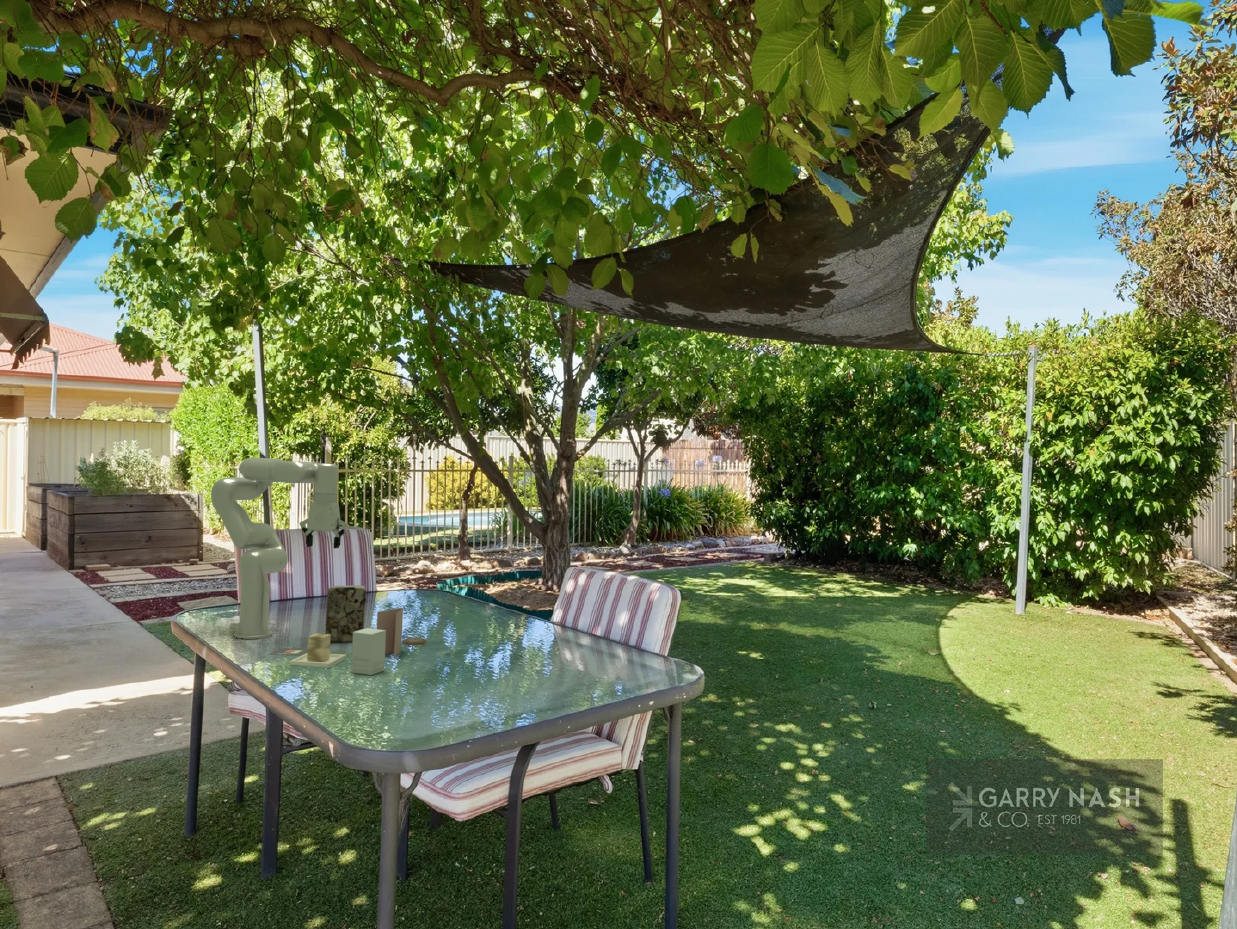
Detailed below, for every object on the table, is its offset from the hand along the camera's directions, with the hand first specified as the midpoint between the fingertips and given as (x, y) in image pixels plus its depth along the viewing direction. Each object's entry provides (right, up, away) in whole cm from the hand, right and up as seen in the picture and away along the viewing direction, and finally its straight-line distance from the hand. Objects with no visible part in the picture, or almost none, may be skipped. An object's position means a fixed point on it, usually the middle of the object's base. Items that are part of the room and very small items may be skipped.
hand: (322, 547), depth 277 cm
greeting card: (+28, -36, -10) cm, 46 cm away
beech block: (+8, -34, -24) cm, 42 cm away
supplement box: (+26, -35, -33) cm, 55 cm away
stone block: (+5, -35, +7) cm, 36 cm away
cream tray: (+8, -34, -24) cm, 43 cm away
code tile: (-5, -34, -12) cm, 36 cm away
